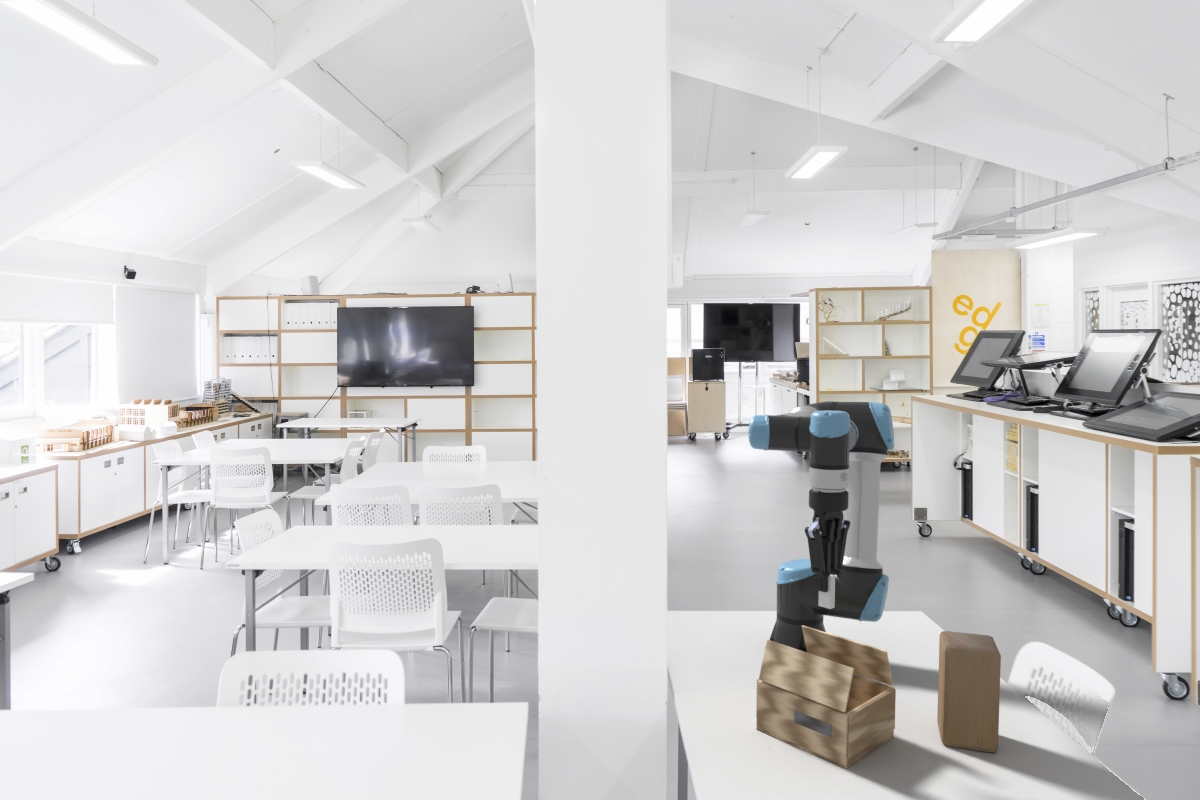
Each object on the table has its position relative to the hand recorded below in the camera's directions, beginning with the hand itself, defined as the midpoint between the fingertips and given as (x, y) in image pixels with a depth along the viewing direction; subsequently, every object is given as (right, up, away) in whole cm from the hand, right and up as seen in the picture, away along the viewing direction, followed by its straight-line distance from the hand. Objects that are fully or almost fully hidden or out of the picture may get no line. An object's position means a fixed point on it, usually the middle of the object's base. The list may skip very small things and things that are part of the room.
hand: (826, 606), depth 153 cm
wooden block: (+28, -26, -1) cm, 38 cm away
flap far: (+7, -16, +7) cm, 18 cm away
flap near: (-7, -16, -5) cm, 18 cm away
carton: (0, -26, +2) cm, 26 cm away
